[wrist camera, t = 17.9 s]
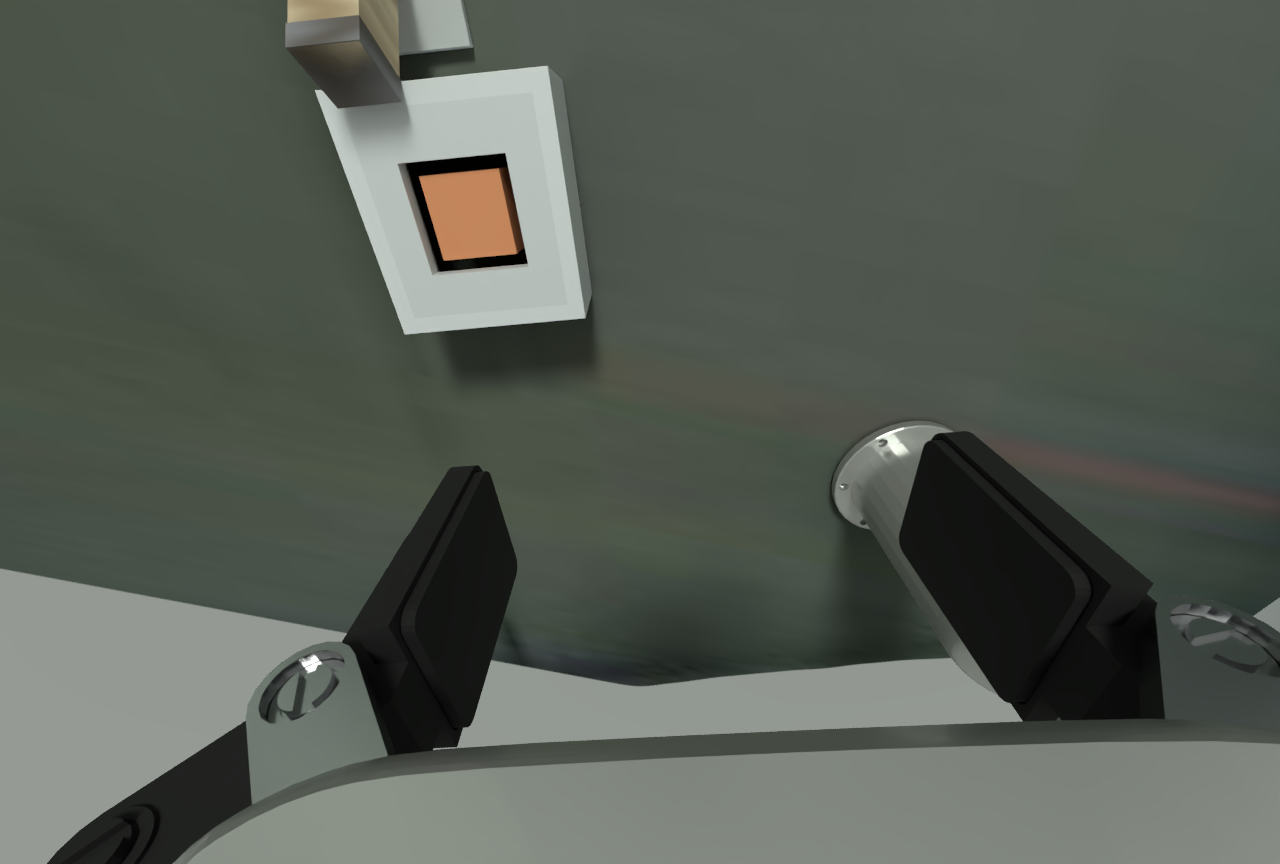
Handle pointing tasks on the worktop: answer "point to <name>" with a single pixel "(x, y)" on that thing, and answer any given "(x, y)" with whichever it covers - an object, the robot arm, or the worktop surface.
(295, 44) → the tan wooden block
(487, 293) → the box
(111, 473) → the worktop surface
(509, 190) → the orange cube block
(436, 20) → the pad
